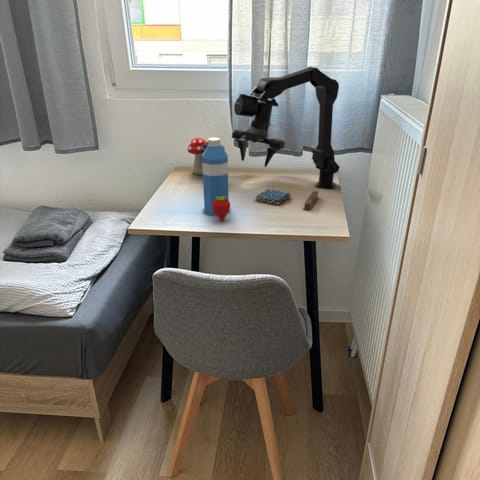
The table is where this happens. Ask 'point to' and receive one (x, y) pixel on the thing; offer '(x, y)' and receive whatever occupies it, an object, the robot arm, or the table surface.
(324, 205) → the table surface
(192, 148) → the decorative mushroom
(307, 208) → the bar
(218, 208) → the strawberry
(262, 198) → the woven mat
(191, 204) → the table surface
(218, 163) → the water bottle
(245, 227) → the table surface
